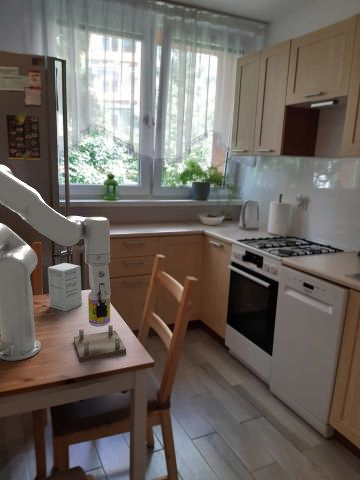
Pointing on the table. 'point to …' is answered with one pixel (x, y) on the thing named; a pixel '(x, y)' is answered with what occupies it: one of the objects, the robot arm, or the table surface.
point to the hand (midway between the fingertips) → (99, 312)
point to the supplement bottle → (92, 311)
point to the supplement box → (65, 286)
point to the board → (98, 345)
